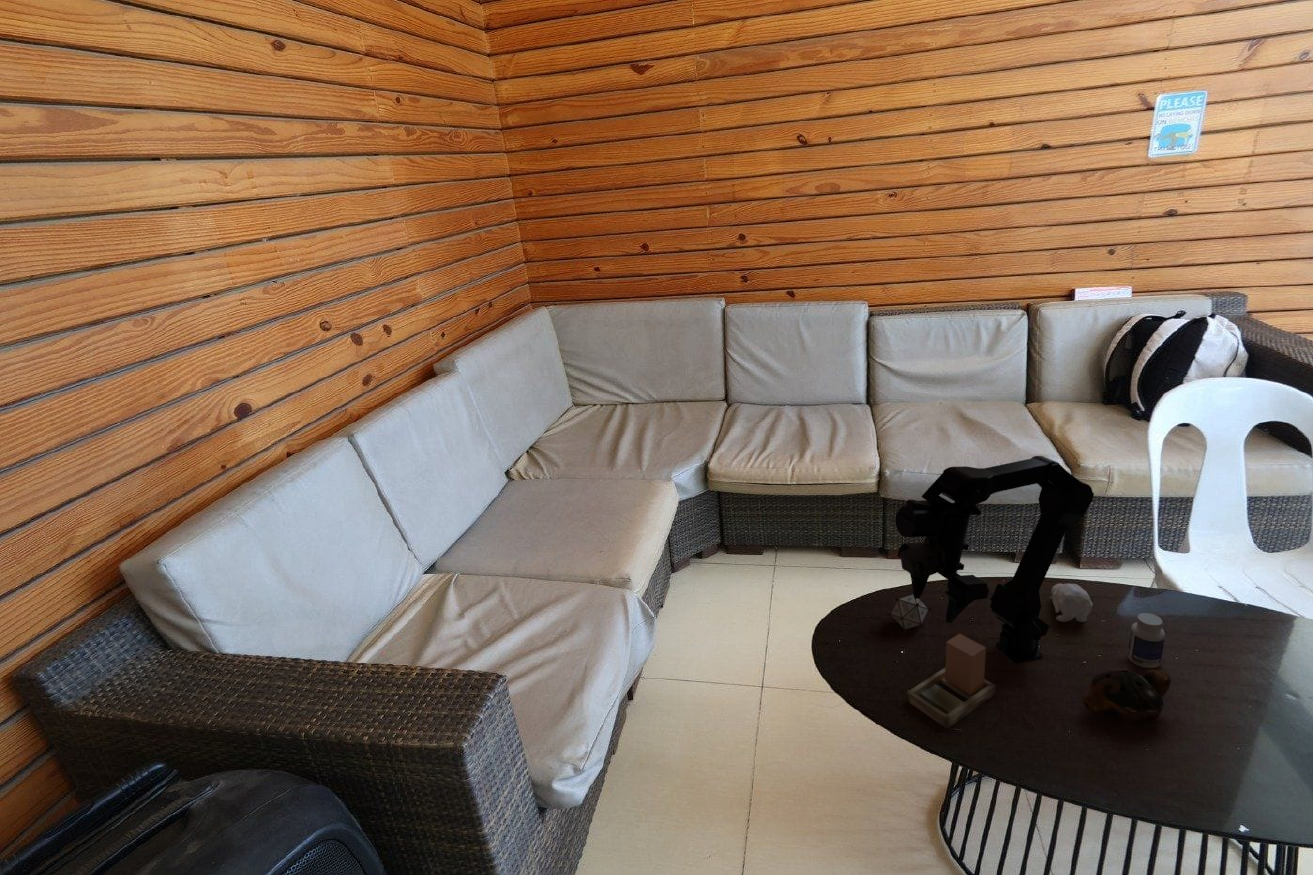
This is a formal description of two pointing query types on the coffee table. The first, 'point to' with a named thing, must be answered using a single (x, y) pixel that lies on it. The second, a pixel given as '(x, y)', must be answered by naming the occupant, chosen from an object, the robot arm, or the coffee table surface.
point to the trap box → (947, 699)
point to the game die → (909, 612)
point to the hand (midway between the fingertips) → (932, 609)
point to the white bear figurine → (1071, 602)
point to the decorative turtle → (1128, 694)
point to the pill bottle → (1146, 641)
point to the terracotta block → (965, 664)
